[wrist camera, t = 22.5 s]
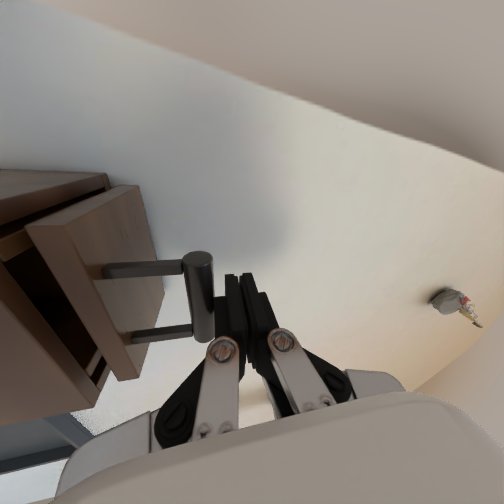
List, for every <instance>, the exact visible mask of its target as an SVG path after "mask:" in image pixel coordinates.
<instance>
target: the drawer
mask: <svg viewBox="0 0 504 504" xmlns="http://www.w3.org/2000/svg"><path fill="white" fill-rule="evenodd" d="M0 261H1V262H2V264H3V265H4V266H5V268H6V269H7V270H8V272H9V273H10V274H11V276H12V277H13V278H14V279H15V281H16V282H17V283H18V285H19V286H20V287H21V289H22V290H23V291H24V293H25V294H26V295H27V297H28V298H29V299H30V301H31V302H32V303H33V304H34V306H35V307H36V308H37V310H38V311H39V312H40V314H41V315H42V316H43V318H44V319H45V320H46V322H47V323H48V324H49V325H50V327H51V328H52V329H53V331H54V332H55V333H56V335H57V336H58V337H59V339H60V340H61V341H62V343H63V344H64V345H65V347H66V348H67V349H68V350H69V352H70V353H71V354H72V356H73V357H74V358H75V360H76V361H77V362H78V364H79V365H80V366H81V368H82V369H83V370H84V371H85V373H86V374H87V375H88V377H90V376H91V375H92V373H93V371H94V369H95V368H96V366H97V364H98V362H99V360H100V358H101V356H103V357H104V359H105V360H106V362H107V364H108V365H109V367H110V369H111V370H112V372H113V373H114V375H115V377H116V378H117V380H118V381H125V380H131V379H137V378H139V376H140V373H141V370H142V367H143V363H144V360H145V357H146V354H147V350H148V347H149V344H150V342H157V341H164V340H171V339H178V338H186V337H192V336H193V335H194V338H195V340H196V341H198V342H200V343H207V342H209V341H211V340H212V339H213V338H214V337H215V325H214V297H215V293H214V274H213V257H212V255H211V254H210V253H208V252H205V251H194V252H190V253H188V254H186V255H185V256H184V257H183V259H176V260H157V259H156V255H155V250H154V246H153V242H152V238H151V234H150V230H149V225H148V221H147V217H146V213H145V209H144V204H143V200H142V196H141V192H140V188H139V186H138V185H120V186H118V187H115V188H113V189H110V190H108V191H106V192H103V193H101V194H99V195H96V196H87V195H81V196H78V197H76V198H73V199H70V200H67V201H65V202H62V203H59V204H57V205H54V206H51V207H49V208H46V209H43V210H41V211H38V212H35V213H33V214H30V215H27V216H24V217H22V218H19V219H16V220H14V221H11V222H8V223H6V224H3V225H0ZM183 271H184V278H185V284H186V291H187V297H188V303H189V310H190V316H191V322H192V324H184V325H176V326H168V327H160V328H154V327H155V324H156V321H157V318H158V314H159V311H160V308H161V305H162V301H163V298H164V295H165V292H164V288H163V284H162V280H161V276H165V275H180V274H183Z"/></svg>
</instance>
